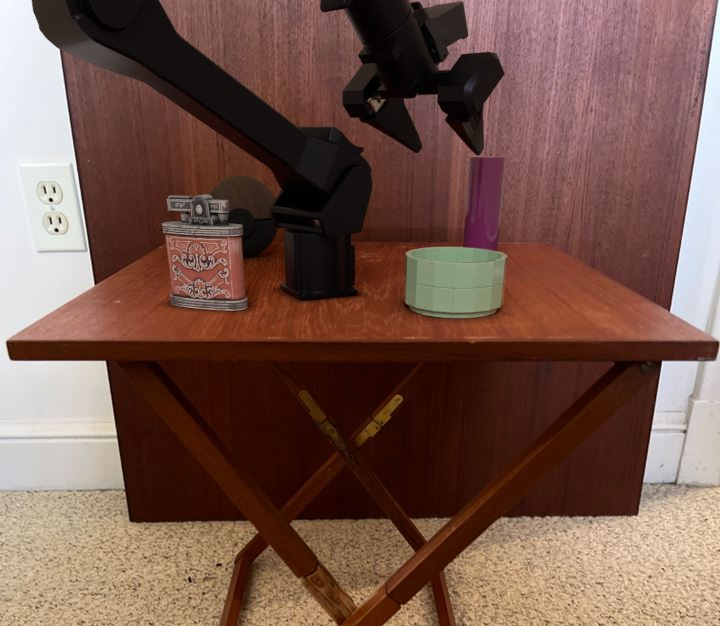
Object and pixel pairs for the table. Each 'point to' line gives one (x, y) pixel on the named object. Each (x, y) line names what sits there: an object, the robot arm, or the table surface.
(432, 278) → the bowl
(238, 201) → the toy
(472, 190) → the purple cylinder rod
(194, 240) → the lighter
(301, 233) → the robot arm
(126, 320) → the table surface
